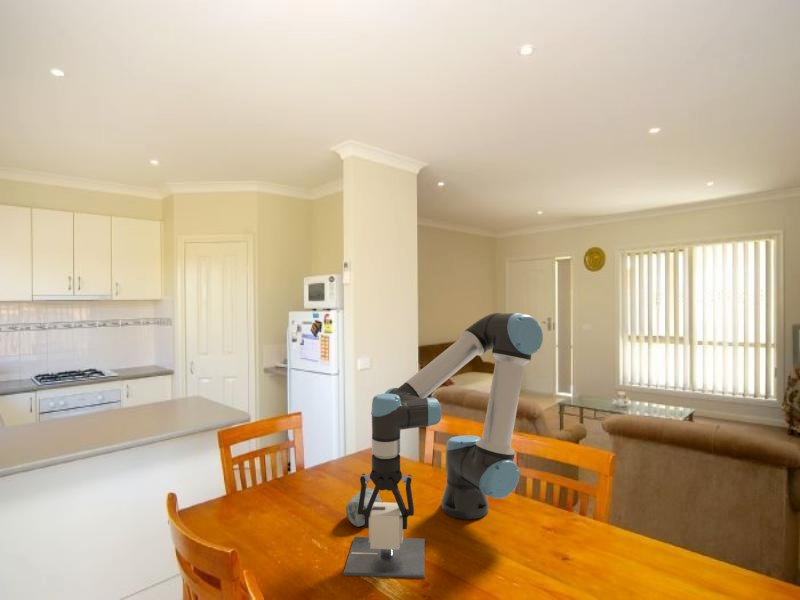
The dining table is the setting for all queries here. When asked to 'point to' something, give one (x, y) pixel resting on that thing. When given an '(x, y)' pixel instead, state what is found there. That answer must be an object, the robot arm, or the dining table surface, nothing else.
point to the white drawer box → (385, 526)
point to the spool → (353, 507)
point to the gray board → (386, 559)
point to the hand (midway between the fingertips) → (386, 540)
